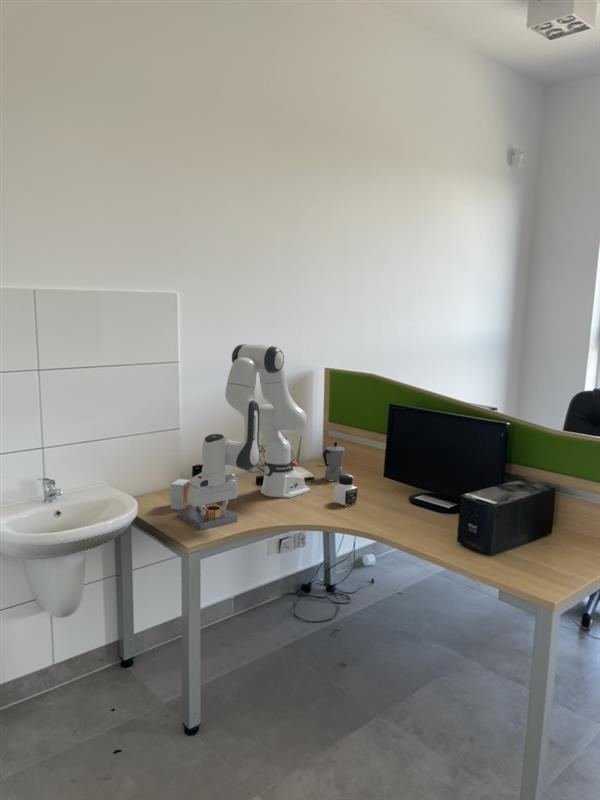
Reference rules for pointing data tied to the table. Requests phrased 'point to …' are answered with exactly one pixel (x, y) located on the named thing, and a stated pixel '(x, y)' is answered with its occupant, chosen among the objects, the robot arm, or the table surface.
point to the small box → (179, 494)
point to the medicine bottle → (345, 490)
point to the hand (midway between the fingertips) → (213, 513)
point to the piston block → (201, 522)
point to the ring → (213, 511)
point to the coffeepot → (334, 461)
